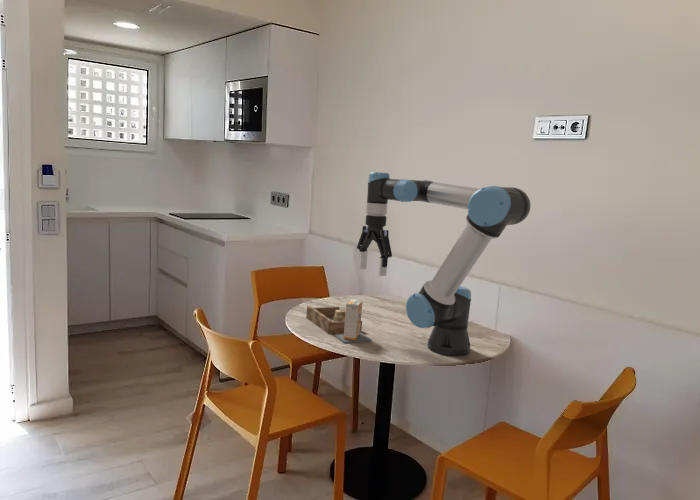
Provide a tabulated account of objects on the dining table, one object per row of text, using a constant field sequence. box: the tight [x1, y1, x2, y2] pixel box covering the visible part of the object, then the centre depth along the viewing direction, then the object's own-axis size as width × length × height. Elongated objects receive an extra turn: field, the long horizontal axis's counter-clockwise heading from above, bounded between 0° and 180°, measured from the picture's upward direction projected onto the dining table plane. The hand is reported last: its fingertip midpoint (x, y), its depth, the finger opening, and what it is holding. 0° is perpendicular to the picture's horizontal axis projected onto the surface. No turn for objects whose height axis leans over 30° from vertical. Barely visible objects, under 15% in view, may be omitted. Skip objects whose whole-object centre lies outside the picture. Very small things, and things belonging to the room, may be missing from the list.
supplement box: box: [343, 298, 363, 340], centre depth 206 cm, size 8×5×13 cm, turn 168°
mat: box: [334, 332, 373, 344], centre depth 206 cm, size 8×11×1 cm
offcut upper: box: [335, 309, 346, 318], centre depth 224 cm, size 7×3×2 cm, turn 101°
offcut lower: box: [332, 315, 345, 322], centre depth 224 cm, size 9×3×3 cm, turn 45°
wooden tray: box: [305, 305, 363, 335], centre depth 222 cm, size 21×14×5 cm, turn 26°
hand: (372, 272), depth 209 cm, fingers open, 13 cm apart
